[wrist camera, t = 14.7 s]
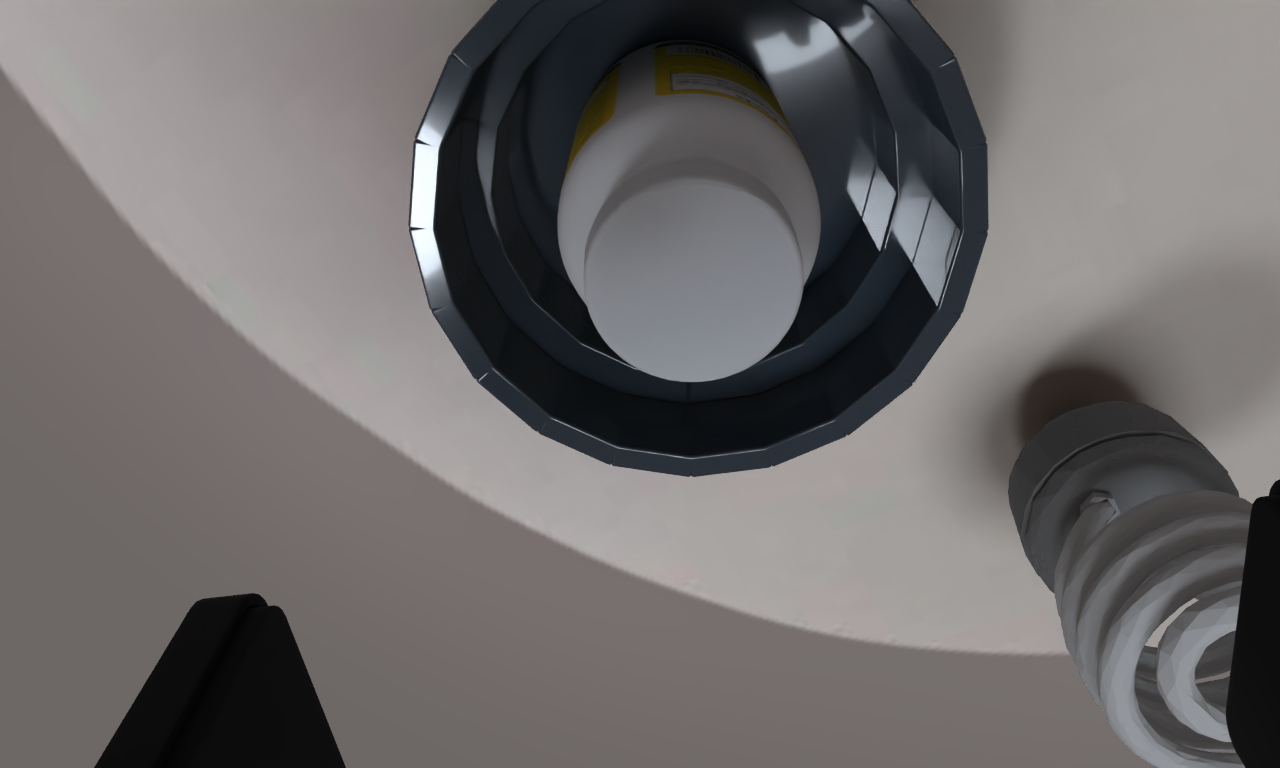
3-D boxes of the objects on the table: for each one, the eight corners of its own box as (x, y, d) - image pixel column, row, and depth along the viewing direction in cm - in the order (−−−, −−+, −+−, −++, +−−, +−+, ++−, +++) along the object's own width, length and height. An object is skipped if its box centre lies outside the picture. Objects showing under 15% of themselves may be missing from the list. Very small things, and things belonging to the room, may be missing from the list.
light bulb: (934, 462, 33) (1066, 767, 22) (1054, 315, 31) (1266, 574, 20) (1080, 540, 34) (1273, 865, 23) (1206, 403, 32) (1483, 694, 21)
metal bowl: (405, -53, 26) (340, -24, 21) (916, -140, 25) (984, -133, 20) (511, 392, 32) (481, 504, 27) (935, 336, 31) (992, 440, 26)
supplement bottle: (624, 271, 30) (607, 453, 21) (544, 84, 27) (488, 199, 19) (813, 202, 29) (879, 362, 20) (746, 1, 26) (787, 83, 18)
